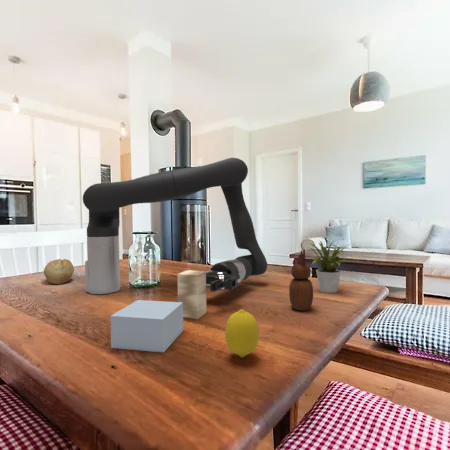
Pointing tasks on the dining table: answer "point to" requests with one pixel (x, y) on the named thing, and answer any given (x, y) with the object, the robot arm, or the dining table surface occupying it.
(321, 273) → the house plant
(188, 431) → the dining table surface
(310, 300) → the wooden figurine
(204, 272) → the birch block
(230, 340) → the lemon
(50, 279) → the bread roll
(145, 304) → the slate block
